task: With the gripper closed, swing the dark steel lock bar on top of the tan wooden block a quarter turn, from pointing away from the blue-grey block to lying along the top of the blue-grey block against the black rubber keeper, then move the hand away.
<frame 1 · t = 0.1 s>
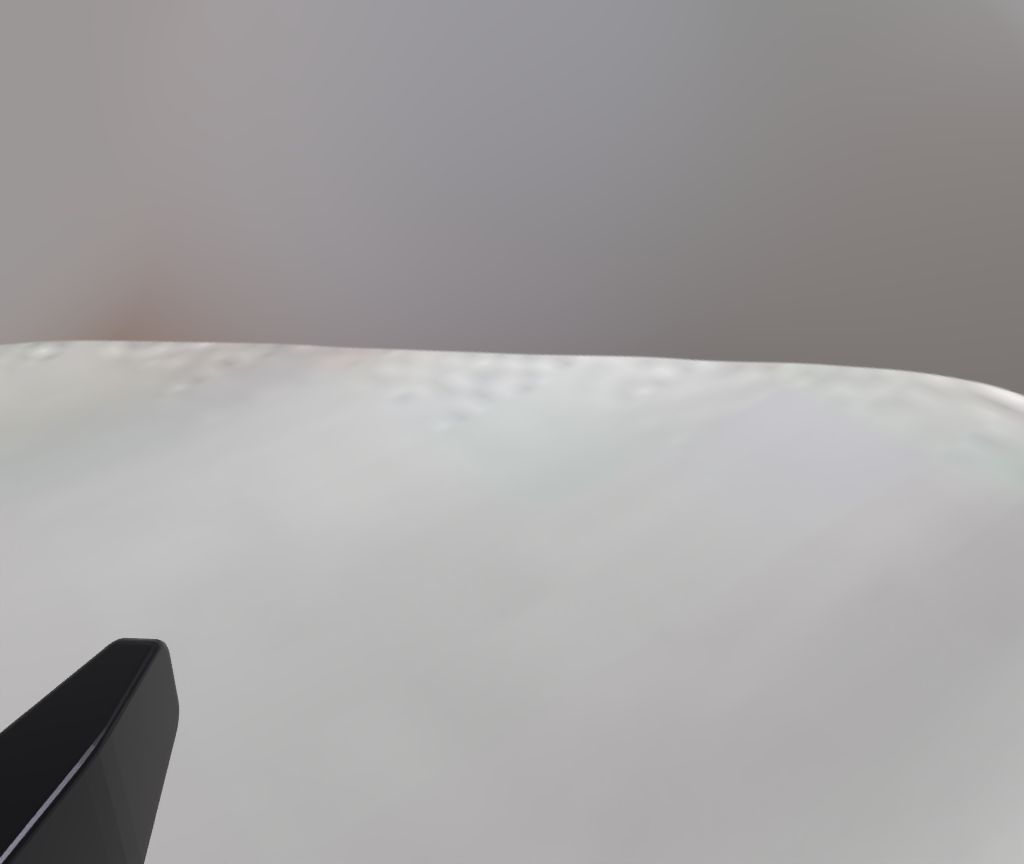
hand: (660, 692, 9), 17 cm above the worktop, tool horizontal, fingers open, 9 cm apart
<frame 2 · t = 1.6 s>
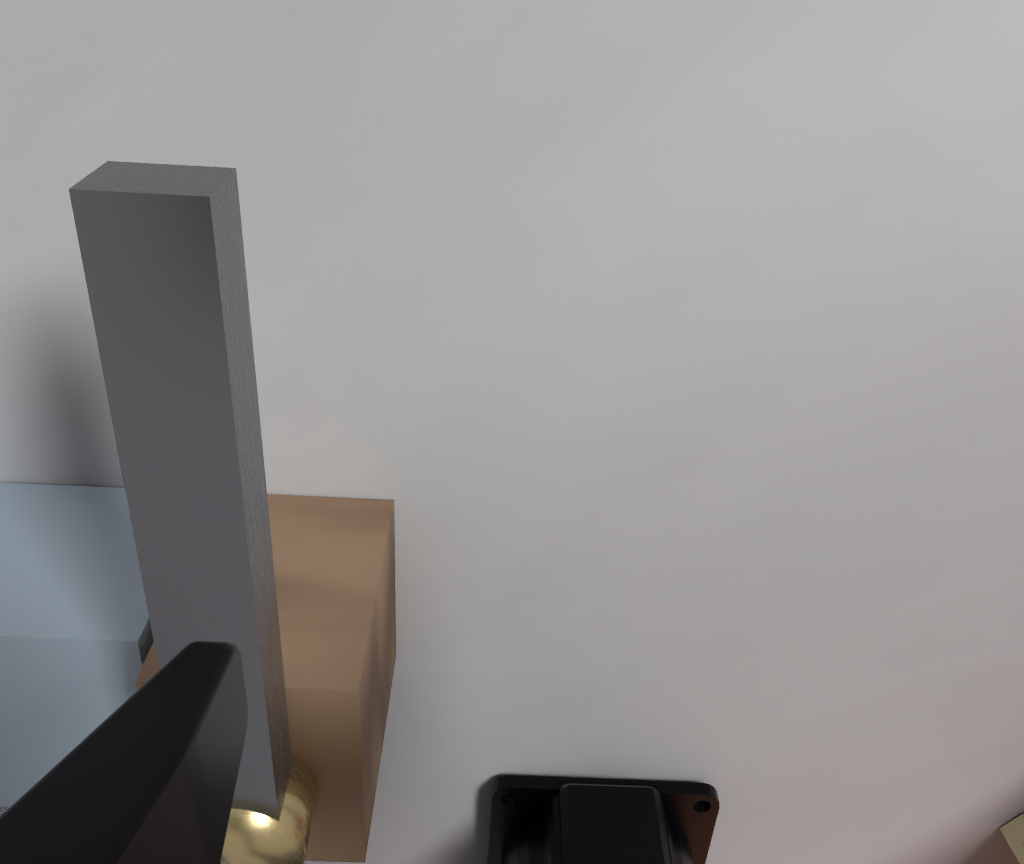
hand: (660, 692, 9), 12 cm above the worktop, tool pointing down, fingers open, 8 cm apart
lock bar: (214, 599, 15), point 7 cm above the worktop, hinge at 0.0°
tan wooden block: (314, 578, 24), on the worktop
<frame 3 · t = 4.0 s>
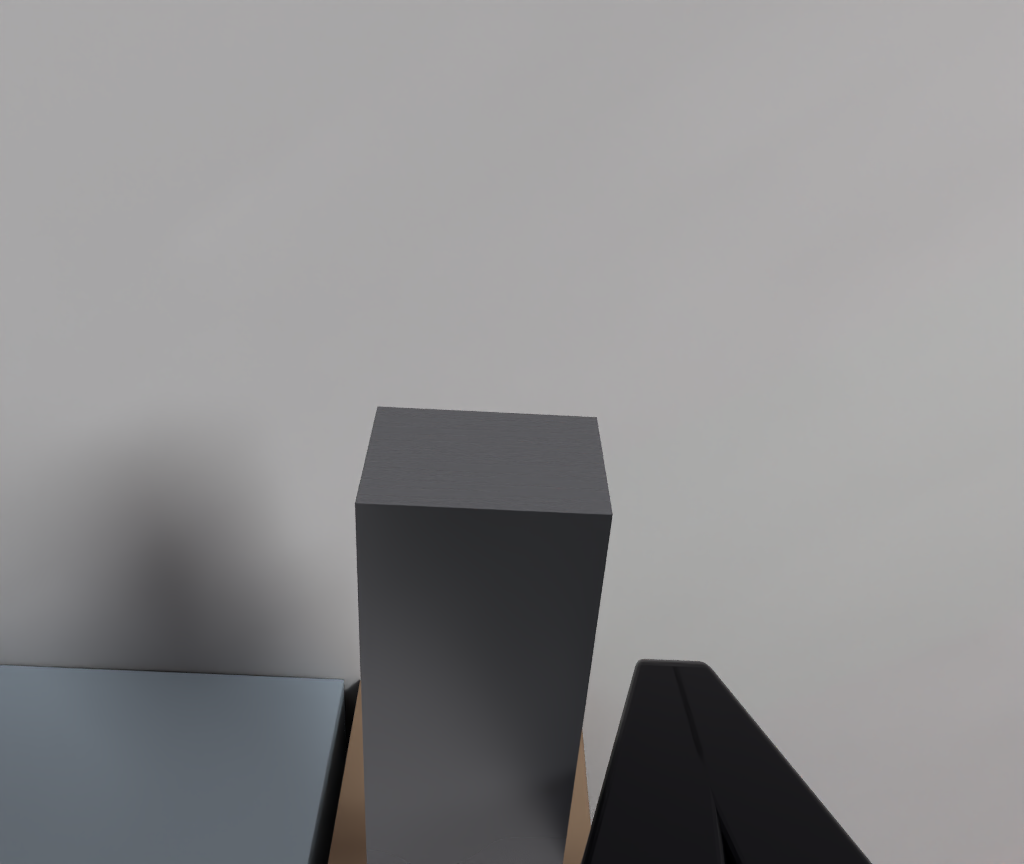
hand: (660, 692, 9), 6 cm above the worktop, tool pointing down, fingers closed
blue-grey block: (8, 758, 18), on the worktop
tan wooden block: (464, 775, 19), on the worktop
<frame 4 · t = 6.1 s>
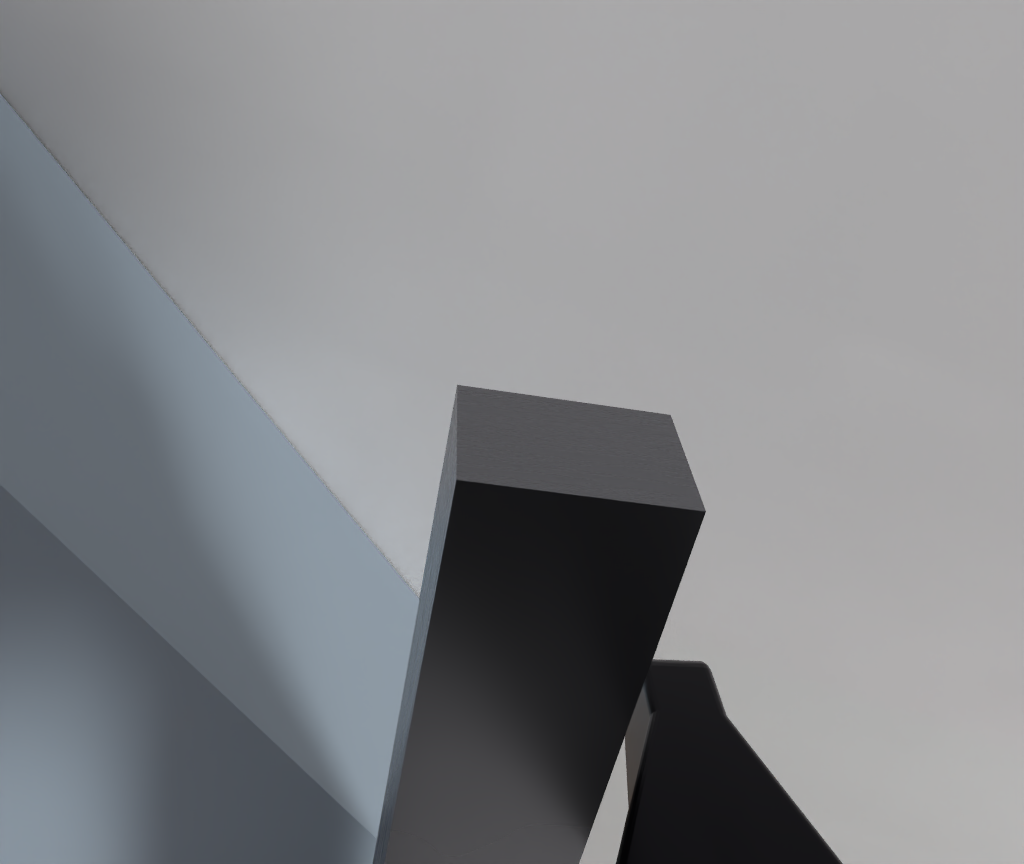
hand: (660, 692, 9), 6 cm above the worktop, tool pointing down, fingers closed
blue-grey block: (89, 435, 14), on the worktop
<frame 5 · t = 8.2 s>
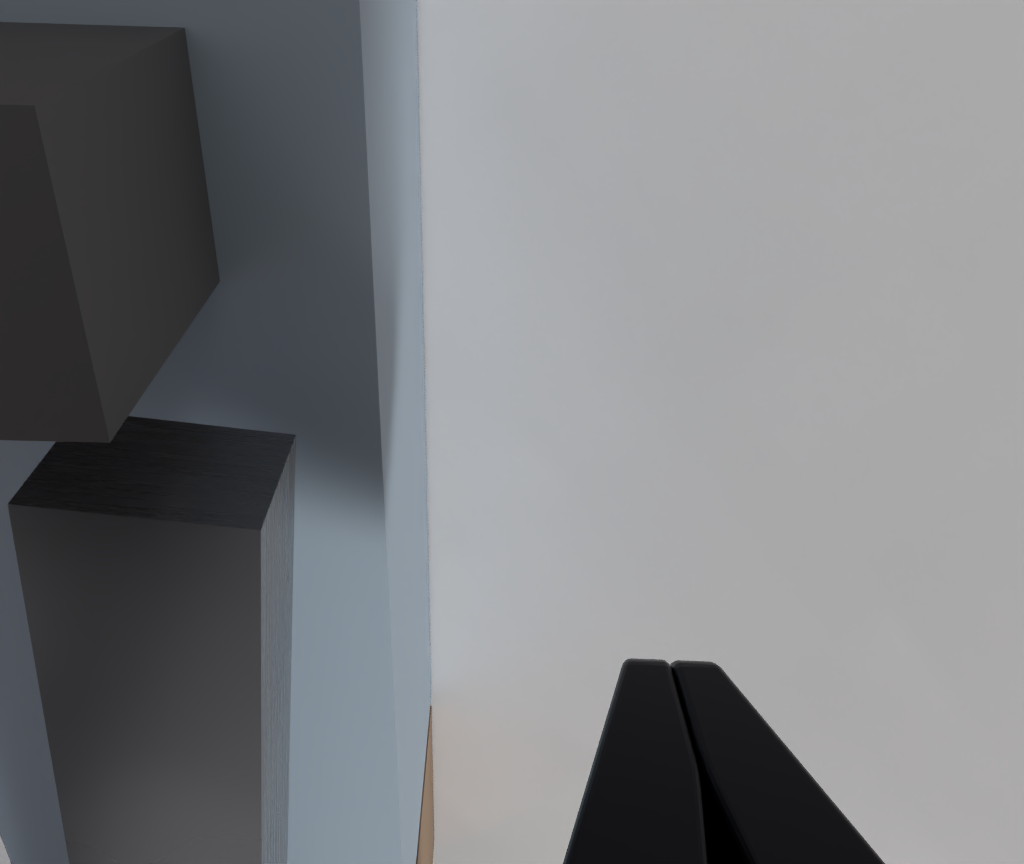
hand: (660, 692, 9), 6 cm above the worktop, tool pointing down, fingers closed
blue-grey block: (258, 383, 14), on the worktop
tan wooden block: (306, 775, 19), on the worktop
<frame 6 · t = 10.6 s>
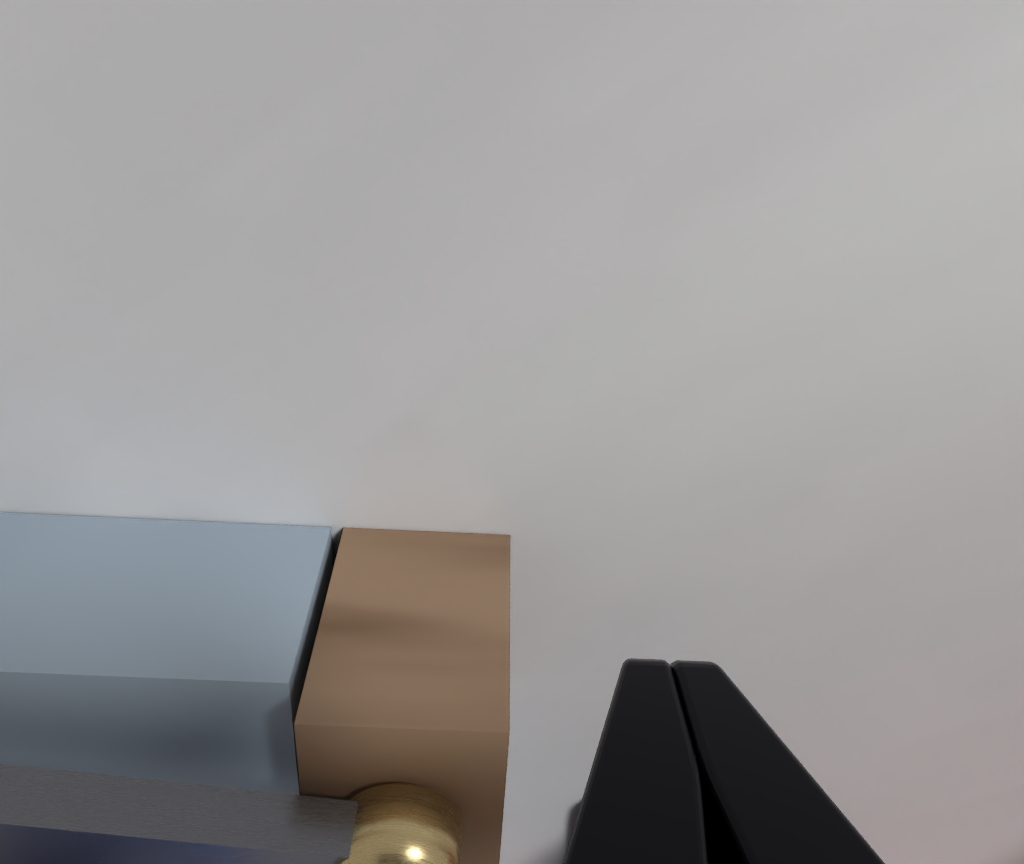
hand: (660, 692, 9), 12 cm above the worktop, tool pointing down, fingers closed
lock bar: (108, 831, 18), point 7 cm above the worktop, hinge at 84.0°
blue-grey block: (75, 595, 24), on the worktop
tan wooden block: (426, 609, 24), on the worktop
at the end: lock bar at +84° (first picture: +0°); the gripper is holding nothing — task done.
